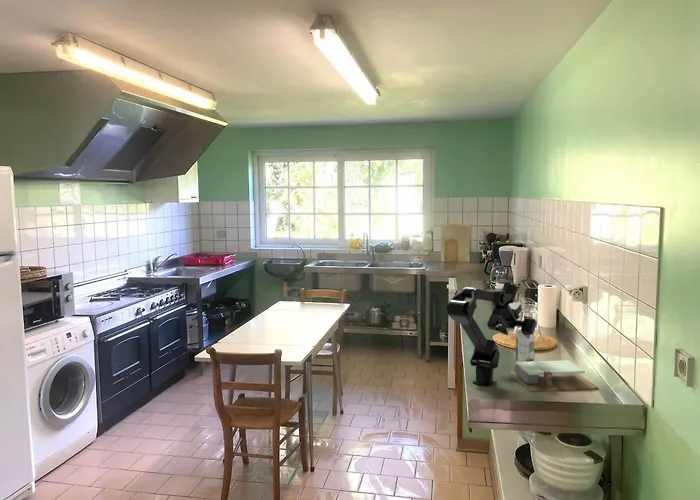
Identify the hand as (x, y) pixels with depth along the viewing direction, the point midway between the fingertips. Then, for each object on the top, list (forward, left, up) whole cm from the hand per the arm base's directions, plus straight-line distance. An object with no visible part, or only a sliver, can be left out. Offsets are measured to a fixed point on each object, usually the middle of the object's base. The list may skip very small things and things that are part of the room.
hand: (518, 335), depth 217 cm
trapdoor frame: (-8, -18, -12) cm, 24 cm away
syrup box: (+6, +1, -13) cm, 14 cm away
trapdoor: (-9, -18, -11) cm, 23 cm away
